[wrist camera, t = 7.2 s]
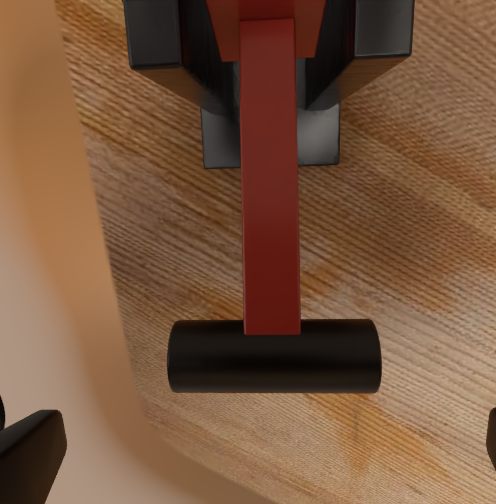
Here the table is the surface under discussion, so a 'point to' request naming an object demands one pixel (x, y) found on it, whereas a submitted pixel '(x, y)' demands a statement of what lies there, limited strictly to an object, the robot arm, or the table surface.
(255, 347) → the lever
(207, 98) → the bracket
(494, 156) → the table surface
